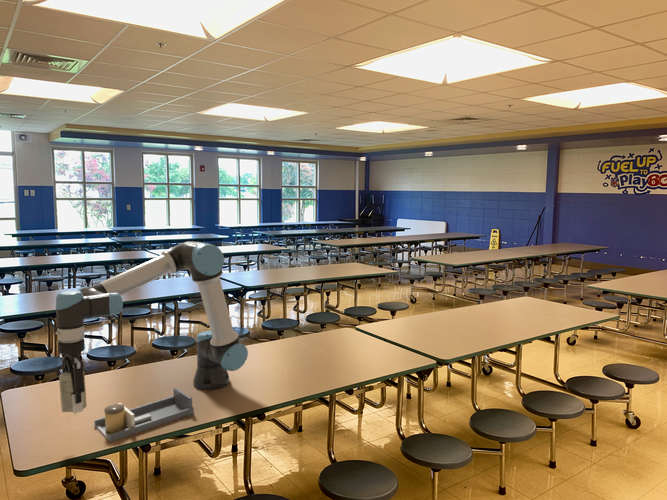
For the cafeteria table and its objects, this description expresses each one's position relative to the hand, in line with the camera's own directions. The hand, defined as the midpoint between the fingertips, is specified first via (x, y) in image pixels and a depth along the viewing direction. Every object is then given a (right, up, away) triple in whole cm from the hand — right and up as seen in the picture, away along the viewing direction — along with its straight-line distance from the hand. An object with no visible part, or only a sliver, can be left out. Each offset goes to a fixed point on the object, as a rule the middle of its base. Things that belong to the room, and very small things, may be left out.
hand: (74, 407), depth 153 cm
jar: (+9, -11, +10) cm, 17 cm away
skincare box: (0, -1, 0) cm, 1 cm away
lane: (+16, -10, +18) cm, 26 cm away
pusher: (+14, -10, +16) cm, 23 cm away
